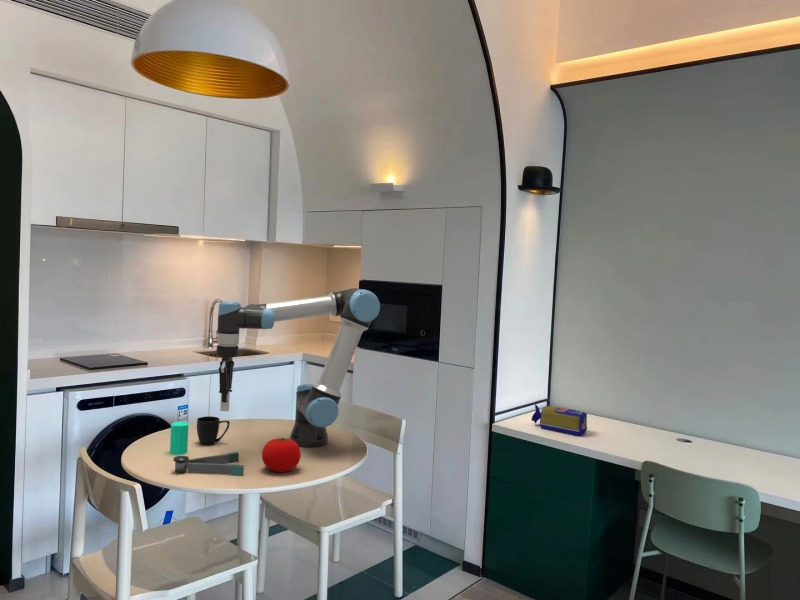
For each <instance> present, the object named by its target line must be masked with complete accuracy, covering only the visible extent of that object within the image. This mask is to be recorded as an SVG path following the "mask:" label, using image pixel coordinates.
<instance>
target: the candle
mask: <svg viewBox="0 0 800 600" xmlns="http://www.w3.org/2000/svg"><path fill="white" fill-rule="evenodd" d="M169 438H170V439H169V441H170V443H169V454H170V455H176V456H182V455H185V454H187V453H188V447H189V445H188V442H189V422H188V421H174V422H173V423H171V424H170V437H169Z"/></svg>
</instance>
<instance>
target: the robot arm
mask: <svg viewBox="0 0 800 600" xmlns="http://www.w3.org/2000/svg"><path fill="white" fill-rule="evenodd" d="M241 305H242V304H241V302H239V301H232V300H226V301H225V300H223V301H220V303H218V312H217V334H216V335H215V338H216V344H217V346H216V350H215V351H216V354H215V355H216V356H217V357H219V358H220V357H221V361H220V362H219V367H218V372H219V376H218V377H219V379H218V380H219V391H218V394H220V407H219V408H220V409H219V411H220V412H229V410H230V398H231V397H230V395H231V393H232V392H233V390H232V385H233V375H234V366H235V361H234V360H233V359H234V358H237V357H238V356H239V344H240V329H242V330H243V329H249V330H250V329H252V330H272V329H273V328H274V325H275V323H276V322H283V321H291V320H298V319H299V320H300V319H307V318H315V317H321V316H328V315H331V316H333V317H339V319H340V321H341V325H340V327H339V329H338V332H337V335H336V337H335V339H334V341H333V344H332V347H331V349H330V352H329V354H328V357H327V359H326V362H325V365H324V366H323V369H322V372H321V375H320V376H319V379H318V381H317V382H316V383H310V384H309V383H307V384H299V385H297V387H296V391H295V394H296V395H295V415H294V416H295V417H294V419H295V420H294V425H293V428H292V429H291V432H290V435H289V439H291V440H293V441H295V442H296V443H297V444H298V446H299V447H303V448H304V447H305V448H315V447H322V446H325V445H327V444H328V442H329V435H328V431H327V427H329V426H331V425H333V423H334V422H336V420H337V418H338V416H339V413H340V412H339V411H340V410H339V403H340V400H341V398H342V394H341V392H340V390H341V387H342V385H343V382H344V379H345V377H346V374H347V373H348V369H349V367H350V364H351V362H352V360H353V357H354V354H355V352H356V349H357V347H358V344H359V342H360V339H361V336H362V335H363V332H365V331H367V330H368V329H369V328H370V325H371V323H372V321H373V320H375V319H376V318H377V317H378V315H379V313H380V310H381V302H380V300H379V298H378V296H377V295H376V294H375V293H374V292H373V291H370V290H369V289H368V290H367V289H363V288H362V289H361V288H357V287H356V288H355V287H354V288H353V287H352V288H348V289H344V290H339V291H332V292H331V291H330V293H328V295H322V296H313V297H306V298H297V299H290V300H282V301H281V300H280V301H274V302H266V303H260V304H254V303H251V304H247V305H245V306H244V307H242V306H241Z"/></svg>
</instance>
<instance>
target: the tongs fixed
mask: <svg viewBox="0 0 800 600" xmlns="http://www.w3.org/2000/svg"><path fill="white" fill-rule="evenodd" d="M189 459H190V457H189V456H188V455H176V456H174V457H173V462H175V463H174V473H175V474H180V475H181V474H186V472H187V473H190V474H209V475H211V474H214V475H215V474H216V475H231V476H243V475H244V470H245V468H244V467H245V465H244V464H234V463H233V464H232V463H226V464H212V463H188V470H187V461H188V460H189Z"/></svg>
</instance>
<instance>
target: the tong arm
mask: <svg viewBox="0 0 800 600" xmlns="http://www.w3.org/2000/svg"><path fill="white" fill-rule="evenodd" d="M239 458H240V453H239V452H238V451H234V452H232V451H231V452H228V453H223V454H216V455H210V456H203V457H202V456H201V457H196V458H189V460H188V461H187V469H186V471H188V463H212V464H232V463H238V462H239Z"/></svg>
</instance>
